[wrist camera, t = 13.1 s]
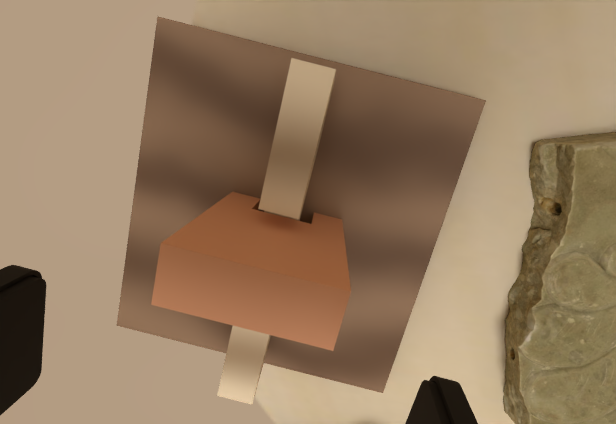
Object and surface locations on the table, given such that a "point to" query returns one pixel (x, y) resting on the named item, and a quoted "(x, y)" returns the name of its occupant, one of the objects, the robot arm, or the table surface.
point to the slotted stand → (294, 187)
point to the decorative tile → (566, 289)
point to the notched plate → (258, 271)
